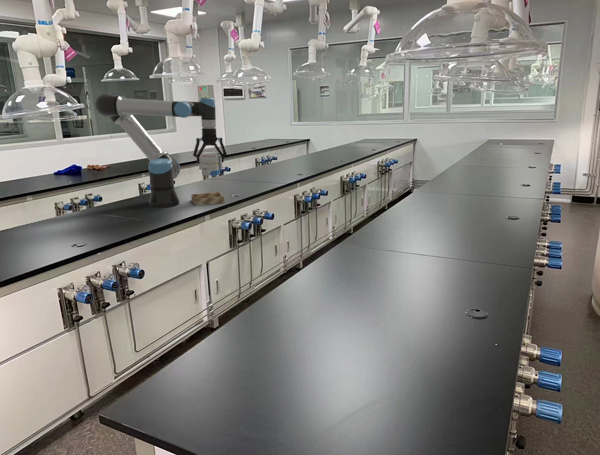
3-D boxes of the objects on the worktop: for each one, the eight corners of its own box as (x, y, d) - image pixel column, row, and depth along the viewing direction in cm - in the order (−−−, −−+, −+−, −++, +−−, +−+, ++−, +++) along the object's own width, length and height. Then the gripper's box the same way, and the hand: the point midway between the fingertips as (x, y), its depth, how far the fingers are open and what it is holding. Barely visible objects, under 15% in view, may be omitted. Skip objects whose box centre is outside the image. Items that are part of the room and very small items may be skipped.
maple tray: (194, 205, 233) (194, 199, 232) (191, 200, 245) (191, 194, 244) (224, 202, 237) (224, 196, 237) (220, 197, 250) (219, 191, 249)
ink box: (220, 173, 250) (219, 152, 247) (217, 175, 242) (216, 153, 239) (205, 172, 250) (204, 151, 247) (201, 175, 242) (200, 153, 239)
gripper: (188, 128, 231) (190, 171, 237) (231, 128, 240) (233, 168, 246) (185, 127, 238) (188, 168, 244) (228, 127, 247) (229, 167, 253)
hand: (210, 169), depth 245 cm, fingers closed on ink box, 11 cm apart
